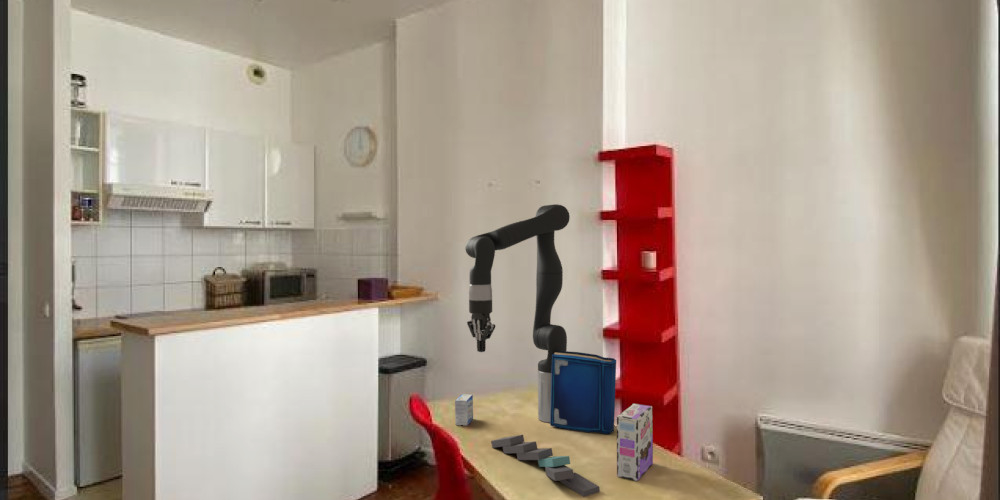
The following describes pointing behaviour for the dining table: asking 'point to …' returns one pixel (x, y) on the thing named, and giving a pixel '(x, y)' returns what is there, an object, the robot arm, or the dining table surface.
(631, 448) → the candy box
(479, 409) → the dining table surface
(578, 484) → the domino
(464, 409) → the medicine box
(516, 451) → the domino
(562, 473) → the domino
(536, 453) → the domino
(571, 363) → the book
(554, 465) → the domino
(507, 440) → the domino
